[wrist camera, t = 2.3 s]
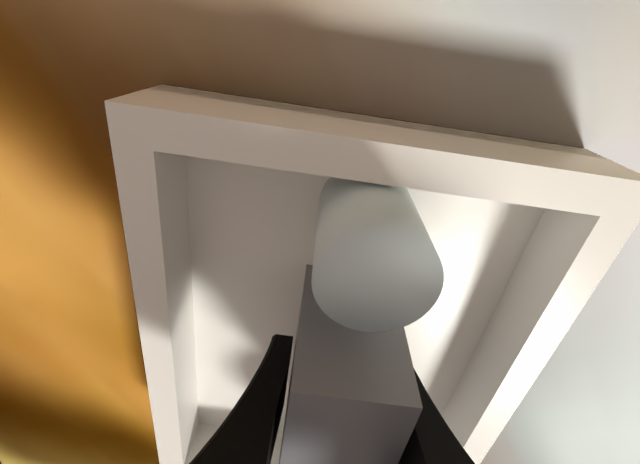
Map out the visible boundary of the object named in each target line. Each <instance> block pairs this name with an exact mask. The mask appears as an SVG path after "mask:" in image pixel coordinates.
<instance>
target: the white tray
mask: <svg viewBox="0 0 640 464" xmlns="http://www.w3.org/2000/svg"><path fill="white" fill-rule="evenodd" d="M104 103H105V109H106V116H107V122H108V129H109V136H110V142H111V149H112V155H113V162H114V168H115V175H116V181H117V188H118V195H119V201H120V208H121V214H122V221H123V227H124V234H125V240H126V247H127V254H128V260H129V267H130V273H131V280H132V286H133V293H134V299H135V306H136V313H137V319H138V326H139V332H140V339H141V345H142V352H143V359H144V365H145V372H146V378H147V385H148V391H149V398H150V404H151V411H152V418H153V424H154V431H155V437H156V444H157V450H158V457H159V463H160V464H189V463H190V462H191V461H192V460H193V459H194V457H195V456H196V455H197V454H198V453H199V452H200V450H201V449H202V448H203V447H204V445H205V444H206V443H207V442H208V441H209V439H210V438H211V437H212V436H213V435H214V433H215V432H216V431H217V429H218V428H219V427H220V425H221V424H222V423H223V422H224V420H225V419H226V417H227V416H228V415H229V413H230V412H231V411H232V409H233V408H234V406H235V405H236V403H237V402H238V400H239V399H240V397H241V396H242V394H243V393H244V391H245V390H246V388H247V386H248V385H249V383H250V381H251V380H252V378H253V376H254V375H255V373H256V371H257V369H258V368H259V366H260V364H261V362H262V360H263V358H264V356H265V354H266V352H267V350H268V347H269V345H270V342H271V339H272V336H274V335H275V334H279V335H287V336H293V343H292V350H291V357H290V365H289V372H288V379H287V386H286V393H285V400H284V407H283V411H282V415H281V420H280V424H279V428H278V433H277V437H276V441H275V446H274V450H273V454H272V459H271V463H270V464H398V463H399V460H400V458H401V456H402V454H403V452H404V449H405V447H406V445H407V443H408V440H409V438H410V436H411V434H412V432H413V429H414V427H415V425H416V423H417V420H418V418H419V416H420V414H421V412H422V409H423V407H422V402H421V398H420V394H419V389H418V385H417V381H416V377H415V372H414V369H415V371H416V373H417V375H418V377H419V378H420V380H421V382H422V384H423V386H424V387H425V389H426V391H427V393H428V394H429V396H430V398H431V399H432V401H433V403H434V404H435V406H436V407H437V409H438V411H439V412H440V414H441V416H442V417H443V419H444V420H445V422H446V423H447V425H448V426H449V428H450V429H451V431H452V432H453V434H454V435H455V437H456V438H457V440H458V441H459V443H460V444H461V445H462V447H463V448H464V450H465V451H466V452H467V454H468V455H469V456H470V458H471V459H472V460H473V462H474V463H475V464H480V463H481V461H482V460H483V458H484V457H485V455H486V454H487V452H488V451H489V449H490V448H491V446H492V445H493V443H494V442H495V440H496V439H497V437H498V436H499V434H500V433H501V431H502V430H503V428H504V427H505V425H506V423H507V422H508V420H509V419H510V417H511V416H512V414H513V413H514V411H515V410H516V408H517V407H518V405H519V404H520V402H521V401H522V399H523V398H524V396H525V395H526V393H527V392H528V390H529V389H530V387H531V386H532V384H533V382H534V381H535V379H536V378H537V376H538V375H539V373H540V372H541V370H542V369H543V367H544V366H545V364H546V363H547V361H548V360H549V358H550V357H551V355H552V354H553V352H554V351H555V349H556V348H557V346H558V344H559V343H560V341H561V340H562V338H563V337H564V335H565V334H566V332H567V331H568V329H569V328H570V326H571V325H572V323H573V322H574V320H575V319H576V317H577V316H578V314H579V313H580V311H581V310H582V308H583V307H584V305H585V303H586V302H587V300H588V299H589V297H590V296H591V294H592V293H593V291H594V290H595V288H596V287H597V285H598V284H599V282H600V281H601V279H602V278H603V276H604V275H605V273H606V272H607V270H608V269H609V267H610V266H611V264H612V262H613V261H614V259H615V258H616V256H617V255H618V253H619V252H620V250H621V249H622V247H623V246H624V244H625V243H626V241H627V240H628V238H629V237H630V235H631V234H632V232H633V231H634V229H635V228H636V226H637V225H638V223H639V221H640V174H639V173H637V172H635V171H633V170H630V169H628V168H626V167H624V166H622V165H620V164H617V163H615V162H613V161H611V160H609V159H606V158H604V157H602V156H600V155H598V154H596V153H593V152H591V151H589V150H587V149H584V148H577V147H571V146H564V145H557V144H551V143H544V142H538V141H531V140H525V139H518V138H512V137H505V136H498V135H492V134H485V133H479V132H472V131H466V130H459V129H452V128H446V127H439V126H433V125H426V124H420V123H413V122H407V121H400V120H393V119H387V118H380V117H374V116H367V115H361V114H354V113H348V112H341V111H334V110H328V109H321V108H315V107H308V106H302V105H295V104H289V103H282V102H275V101H269V100H262V99H256V98H249V97H243V96H236V95H229V94H223V93H216V92H210V91H203V90H197V89H190V88H184V87H177V86H170V85H164V84H161V85H157V86H154V87H150V88H147V89H143V90H140V91H136V92H133V93H129V94H126V95H123V96H119V97H116V98H112V99H109V100H105V101H104ZM413 367H414V368H413Z"/></svg>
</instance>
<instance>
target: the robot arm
mask: <svg viewBox="0 0 640 464" xmlns="http://www.w3.org/2000/svg"><path fill="white" fill-rule="evenodd" d="M292 343H293V336H287V335H279V334H275V335H274V336H272V339H271V342H270V345H269V347H268V350H267V352H266V354H265V356H264V358H263V360H262V362H261V364H260V366H259V368H258V369H257V371H256V373H255V375H254V376H253V378H252V380H251V381H250V383H249V385H248V386H247V388H246V390H245V391H244V393H243V394H242V396H241V397H240V399H239V400H238V402H237V403H236V405H235V406H234V408H233V409H232V411H231V412H230V413H229V415H228V416H227V417H226V419H225V420H224V422H223V423H222V424H221V425H220V427H219V428H218V429H217V431H216V432H215V433H214V435H213V436H212V437H211V438H210V439H209V441H208V442H207V443H206V444H205V445H204V447H203V448H202V449H201V450H200V452H199V453H198V454H197V455H196V456H195V457H194V459H193V460H192V461H191V462H190V463H189V464H270V463H271V459H272V454H273V450H274V446H275V441H276V437H277V433H278V428H279V424H280V420H281V415H282V411H283V407H284V400H285V393H286V386H287V379H288V372H289V365H290V357H291V350H292ZM413 368H414V367H413ZM414 372H415V377H416V381H417V385H418V389H419V394H420V398H421V402H422V407H423V409H422V412H421V414H420V416H419V418H418V420H417V423H416V425H415V427H414V429H413V432H412V434H411V436H410V438H409V440H408V443H407V445H406V447H405V449H404V452H403V454H402V456H401V458H400V460H399V463H398V464H475V463H474V462H473V460H472V459H471V458H470V456H469V455H468V454H467V452H466V451H465V450H464V448H463V447H462V445H461V444H460V443H459V441H458V440H457V438H456V437H455V435H454V434H453V432H452V431H451V429H450V428H449V426H448V425H447V423H446V422H445V420H444V419H443V417H442V416H441V414H440V412H439V411H438V409H437V407H436V406H435V404H434V403H433V401H432V399H431V398H430V396H429V394H428V393H427V391H426V389H425V387H424V386H423V384H422V382H421V380H420V378H419V377H418V375H417V373H416V371H415V369H414Z"/></svg>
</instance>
